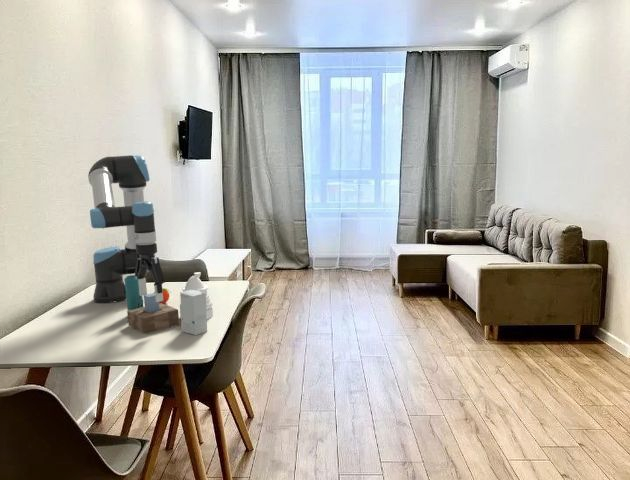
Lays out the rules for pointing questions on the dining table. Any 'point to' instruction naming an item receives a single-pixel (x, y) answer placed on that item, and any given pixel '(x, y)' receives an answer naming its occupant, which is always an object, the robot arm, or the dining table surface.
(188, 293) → the skincare box
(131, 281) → the beverage bottle
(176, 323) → the socket block
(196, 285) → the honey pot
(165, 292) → the red tomato
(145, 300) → the peg
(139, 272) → the robot arm
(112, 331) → the dining table surface
